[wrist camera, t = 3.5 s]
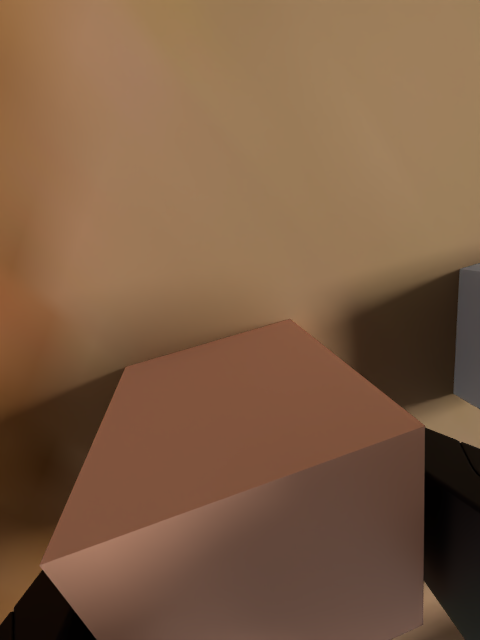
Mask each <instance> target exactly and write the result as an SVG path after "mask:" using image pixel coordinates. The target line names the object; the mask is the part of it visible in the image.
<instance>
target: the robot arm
mask: <svg viewBox="0 0 480 640" xmlns="http://www.w3.org/2000/svg"><path fill="white" fill-rule="evenodd" d="M423 580H424V581H425V583H426V584H427V586H428V587H429V589H430V590H431V591H432V593H433V594H434V596H435V597H436V599H437V600H438V601H439V603H440V604H441V606H442V607H443V609H444V610H445V611H446V613H447V614H448V616H449V617H450V619H451V620H452V621H453V623H454V624H455V626H456V627H457V629H458V630H459V631H460V633H461V634H462V636H463V637H464V639H465V640H480V449H479V448H476V447H474V446H471V445H469V444H466V443H463V442H461V443H460V442H459V441H458V440H456V439H453V438H450V437H448V436H445V435H443V434H440V433H438V432H435V431H432V430H430V429H427V428H425V472H424V577H423ZM0 640H97V639H96V638H95V637H94V635H93V634H92V633H91V632H90V630H89V629H88V628H87V626H86V625H85V624H84V622H83V621H82V620H81V619H80V617H79V616H78V615H77V613H76V612H75V611H74V610H73V608H72V607H71V606H70V604H69V603H68V602H67V600H66V599H65V598H64V597H63V595H62V594H61V593H60V591H59V590H58V589H57V587H56V586H55V585H54V584H53V582H52V581H51V580H50V578H49V577H48V576H47V575H46V573H45V572H44V571H43V570H42V571H41V572H40V574H39V575H38V576H37V578H36V579H35V580H34V582H33V583H32V584H31V586H30V587H29V588H28V590H27V591H26V592H25V593H24V595H23V596H22V597H21V599H20V600H19V601H18V603H17V604H16V605H15V607H14V612H10V613H9V614H8V616H7V617H6V618H5V620H4V621H3V622H2V623H1V625H0Z"/></svg>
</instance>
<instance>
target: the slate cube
mask: <svg viewBox="0 0 480 640" xmlns="http://www.w3.org/2000/svg"><path fill="white" fill-rule="evenodd" d="M453 394H455V395H457V396H458V397H460V398H462V399H463V400H465V401H467V402H468V403H470V404H472V405H474V406H475V407H477V408H479V409H480V263H478V264H475V265H471V266H468V267H465V268H461V269H460V273H459V293H458V313H457V333H456V353H455V373H454V393H453Z"/></svg>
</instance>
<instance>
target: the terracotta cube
mask: <svg viewBox="0 0 480 640" xmlns="http://www.w3.org/2000/svg"><path fill="white" fill-rule="evenodd" d="M424 472H425V425H423V424H422V423H421V422H420V421H418V420H417V419H416V418H415V417H413V416H412V415H411V414H409V413H408V412H407V411H406V410H404V409H403V408H402V407H401V406H399V405H398V404H397V403H396V402H394V401H393V400H392V399H391V398H389V397H388V396H387V395H386V394H384V393H383V392H382V391H380V390H379V389H378V388H377V387H375V386H374V385H373V384H372V383H370V382H369V381H368V380H367V379H365V378H364V377H363V376H362V375H360V374H359V373H358V372H356V371H355V370H354V369H353V368H351V367H350V366H349V365H348V364H346V363H345V362H344V361H343V360H341V359H340V358H339V357H338V356H336V355H335V354H334V353H333V352H331V351H330V350H329V349H327V348H326V347H325V346H324V345H322V344H321V343H320V342H319V341H317V340H316V339H315V338H314V337H312V336H311V335H310V334H309V333H307V332H306V331H305V330H304V329H302V328H301V327H300V326H298V325H297V324H296V323H295V322H293V321H292V320H291V319H288V320H284V321H281V322H277V323H274V324H270V325H267V326H264V327H260V328H257V329H253V330H250V331H246V332H243V333H240V334H236V335H233V336H229V337H226V338H222V339H219V340H216V341H212V342H209V343H205V344H202V345H199V346H195V347H192V348H188V349H185V350H181V351H178V352H175V353H171V354H168V355H164V356H161V357H157V358H154V359H151V360H147V361H144V362H140V363H137V364H133V365H130V366H127V367H125V369H124V372H123V374H122V376H121V379H120V381H119V383H118V386H117V388H116V390H115V392H114V395H113V397H112V399H111V402H110V404H109V406H108V409H107V411H106V413H105V416H104V418H103V420H102V422H101V425H100V427H99V429H98V432H97V434H96V436H95V439H94V441H93V443H92V445H91V448H90V450H89V452H88V455H87V457H86V459H85V462H84V464H83V466H82V468H81V471H80V473H79V475H78V478H77V480H76V482H75V485H74V487H73V489H72V491H71V494H70V496H69V498H68V501H67V503H66V505H65V508H64V510H63V512H62V515H61V517H60V519H59V521H58V524H57V526H56V528H55V531H54V533H53V535H52V538H51V540H50V542H49V544H48V547H47V549H46V551H45V554H44V556H43V558H42V561H41V563H40V567H41V568H42V569H43V571H44V572H45V573H46V575H47V576H48V577H49V578H50V580H51V581H52V582H53V584H54V585H55V586H56V587H57V589H58V590H59V591H60V593H61V594H62V595H63V597H64V598H65V599H66V600H67V602H68V603H69V604H70V606H71V607H72V608H73V610H74V611H75V612H76V613H77V615H78V616H79V617H80V619H81V620H82V621H83V622H84V624H85V625H86V626H87V628H88V629H89V630H90V632H91V633H92V634H93V635H94V637H95V638H96V639H97V640H391V639H393V638H395V637H398V636H400V635H402V634H404V633H406V632H408V631H411V630H413V629H415V628H417V627H419V626H422V625H423V577H424Z"/></svg>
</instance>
